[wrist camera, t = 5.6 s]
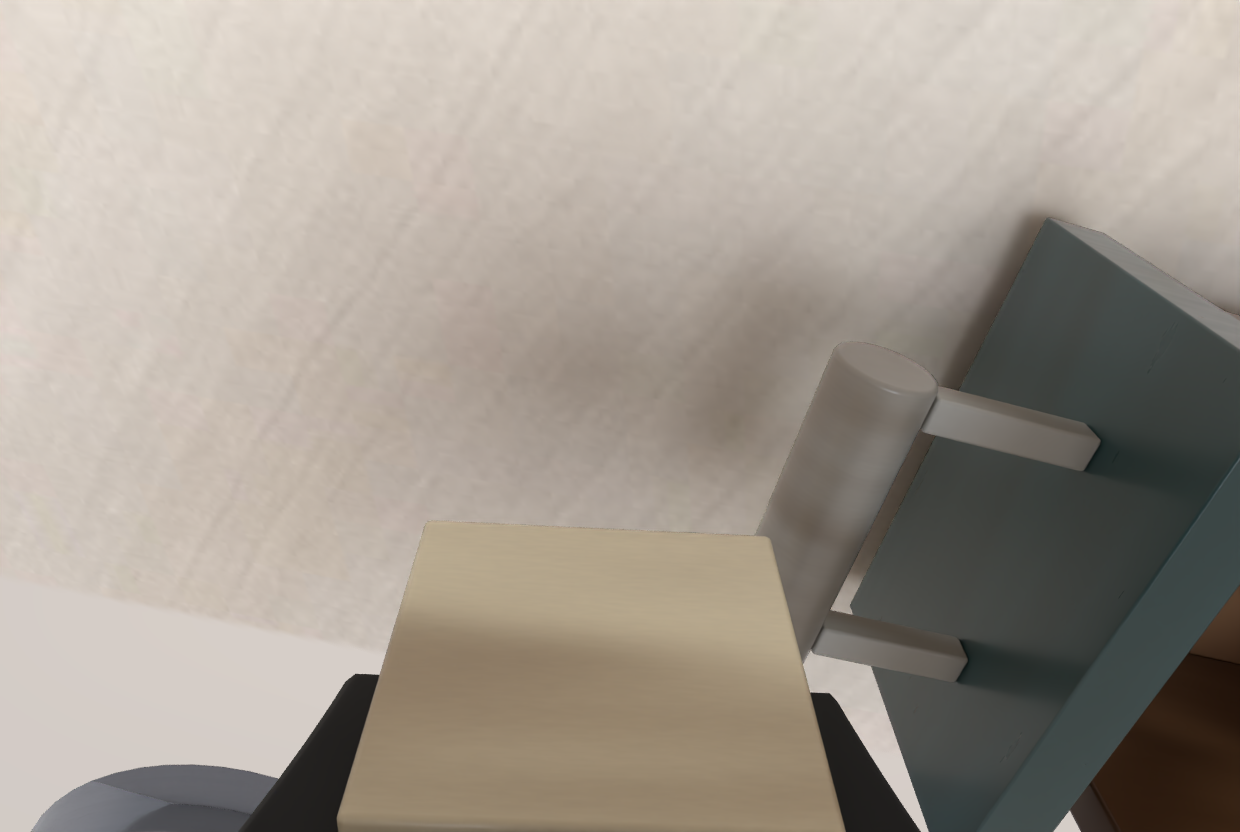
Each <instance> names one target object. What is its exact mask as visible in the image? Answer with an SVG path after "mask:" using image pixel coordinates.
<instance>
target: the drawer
mask: <svg viewBox="0 0 1240 832" xmlns="http://www.w3.org/2000/svg"><path fill="white" fill-rule="evenodd" d="M920 429H921V431H923V432H924V433H927V434H931V435H935V438H934V440H933V442H932V444H931V446H930V448H929V450H928V452H927V454H926V456H925V458H924V460H923V462H922V464H921V466H920V468H919V470H918V472H917V474H916V476H915V478H914V480H913V482H912V484H911V486H910V488H909V490H908V492H907V494H906V496H905V498H904V499H903V501H902V503H901V505H900V507H899V509H898V511H897V513H896V515H895V517H894V519H893V521H892V523H891V525H890V527H889V529H888V531H887V533H886V535H885V537H884V539H883V541H882V543H881V545H880V547H879V549H878V551H877V553H876V555H875V557H874V559H873V561H872V563H871V565H870V567H869V568H868V570H867V572H866V574H865V576H864V578H863V580H862V582H861V584H860V586H859V588H858V590H857V592H856V594H855V596H854V598H853V600H852V602H851V604H850V607H851V610H852V613H853V615H851V614H846V613H841V612H837V611H832V610H830V609H831V607H832V605H833V603H834V601H835V599H836V597H837V595H838V593H839V591H840V589H841V587H842V585H843V583H844V581H845V579H846V577H847V575H848V573H849V571H850V569H851V567H852V565H853V563H854V561H855V559H856V557H857V555H858V553H859V551H860V549H861V547H862V545H863V543H864V541H865V539H866V537H867V535H868V533H869V531H870V529H871V527H872V525H873V523H874V521H875V518H876V516H877V514H878V512H879V510H880V508H881V506H882V504H883V502H884V500H885V498H886V496H887V494H888V492H889V490H890V488H891V486H892V484H893V482H894V480H895V478H896V476H897V474H898V472H899V470H900V468H901V466H902V464H903V462H904V460H905V458H906V456H907V454H908V452H909V450H910V448H911V446H912V444H913V442H914V440H915V438H916V436H917V434H918V432H919V430H920ZM755 536H766V537H768V538H770V540H771V543H772V547H773V551H774V555H775V558H776V562H777V566H778V570H779V574H780V578H781V582H782V586H783V589H784V593H785V597H786V601H787V605H788V609H789V613H790V617H791V621H792V624H793V628H794V632H795V636H796V640H797V644H798V648H799V652H800V655H801V659H802V663H803V664H804V662H805V660H806V658H807V656H808V654H809V652H810V650H812V652H813V653H814V654H816V655H821V656H826V657H831V658H836V659H841V660H846V661H850V662H855V663H860V664H865V665H870V666H871V667H872V670H873V673H874V676H875V679H876V682H877V684H878V687H879V690H880V693H881V696H882V699H883V702H884V705H885V707H886V710H887V713H888V716H889V719H890V722H891V725H892V727H893V730H894V733H895V736H896V739H897V742H898V745H899V748H900V750H901V753H902V756H903V759H904V762H905V765H906V768H907V770H908V773H909V776H910V779H911V782H912V785H913V788H914V791H915V793H916V796H917V799H918V802H919V805H920V808H921V811H922V813H923V816H924V819H925V822H926V825H927V828H928V831H929V832H1053V831H1054V830H1055V829H1056V827H1057V826H1058V825H1059V823H1060V822H1061V821H1062V819H1063V818H1064V817H1065V815H1066V814H1067V813H1068V811H1069V810H1070V811H1071V813H1072V815H1073V817H1074V819H1075V821H1076V823H1077V825H1078V827H1079V829H1080V831H1081V832H1240V315H1237V314H1233V313H1230V312H1226V311H1224V310H1222V309H1220V308H1219V307H1217V306H1216V305H1214V304H1213V303H1211V302H1210V301H1208V300H1207V299H1205V298H1203V297H1202V296H1200V295H1199V294H1197V293H1196V292H1194V291H1193V290H1191V289H1190V288H1188V287H1186V286H1185V285H1183V284H1182V283H1180V282H1179V281H1177V280H1176V279H1174V278H1172V277H1171V276H1169V275H1168V274H1166V273H1165V272H1163V271H1162V270H1160V269H1159V268H1157V267H1155V266H1154V265H1152V264H1151V263H1149V262H1148V261H1146V260H1145V259H1143V258H1142V257H1140V256H1138V255H1137V254H1135V253H1134V252H1132V251H1131V250H1129V249H1128V248H1126V247H1124V246H1123V245H1121V244H1120V243H1118V242H1117V241H1115V240H1114V239H1112V238H1111V237H1109V236H1107V235H1106V234H1104V233H1102V232H1098V231H1095V230H1091V229H1088V228H1084V227H1081V226H1077V225H1074V224H1070V223H1067V222H1063V221H1060V220H1056V219H1053V218H1046V220H1045V221H1044V223H1043V225H1042V227H1041V229H1040V231H1039V233H1038V235H1037V237H1036V239H1035V241H1034V243H1033V245H1032V247H1031V249H1030V251H1029V253H1028V255H1027V257H1026V259H1025V261H1024V263H1023V265H1022V267H1021V269H1020V271H1019V273H1018V275H1017V277H1016V279H1015V281H1014V283H1013V285H1012V287H1011V289H1010V290H1009V292H1008V294H1007V296H1006V298H1005V300H1004V302H1003V304H1002V306H1001V308H1000V310H999V312H998V314H997V316H996V318H995V320H994V322H993V324H992V326H991V328H990V330H989V332H988V334H987V336H986V338H985V340H984V342H983V344H982V346H981V348H980V350H979V352H978V354H977V356H976V358H975V359H974V361H973V363H972V365H971V367H970V369H969V371H968V373H967V375H966V377H965V379H964V381H963V383H962V385H961V387H960V389H959V391H957V390H953V389H949V388H945V387H941V386H938V383H937V381H936V379H935V378H934V377H933V376H932V375H931V374H930V373H929V372H928V371H927V370H926V369H924V368H923V367H922V366H920V365H919V364H917V363H916V362H914V361H912V360H911V359H909V358H907V357H905V356H903V355H901V354H899V353H896V352H894V351H892V350H889V349H886V348H883V347H880V346H877V345H873V344H868V343H862V342H843V343H840V344H839V345H837V346H836V347H835V348H834V350H833V352H832V354H831V357H830V359H829V361H828V364H827V366H826V368H825V371H824V373H823V375H822V378H821V380H820V382H819V385H818V387H817V390H816V392H815V394H814V397H813V399H812V401H811V404H810V406H809V408H808V411H807V413H806V416H805V418H804V420H803V423H802V425H801V427H800V430H799V432H798V434H797V437H796V439H795V441H794V444H793V446H792V449H791V451H790V453H789V456H788V458H787V460H786V463H785V465H784V467H783V470H782V472H781V474H780V477H779V479H778V482H777V484H776V486H775V489H774V491H773V493H772V496H771V498H770V500H769V503H768V505H767V507H766V510H765V512H764V515H763V517H762V519H761V522H760V524H759V526H758V529H757V531H756V533H755Z"/></svg>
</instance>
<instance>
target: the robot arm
mask: <svg viewBox="0 0 1240 832" xmlns="http://www.w3.org/2000/svg"><path fill="white" fill-rule="evenodd" d="M378 679H379V675H371V674H355V675H353V676H352V677H351V678H350V679H348V680H347V681H346V682H345V684H344V685H343V687H342V688H341V690H340V691H339V693H338V694H337V696H336V698H335V699H334V701H333V702H332V704H331V705H330V707H329V708H328V710H327V711H326V713H325V714H324V716H323V718H322V719H321V720H320V722H319V723H318V725H317V726H316V728H315V729H314V731H313V732H312V734H311V735H310V736H309V738H308V739H307V741H306V742H305V744H304V745H303V746H302V748H301V749H300V750H299V752H298V753H297V755H296V756H295V757H294V759H293V760H292V761H291V763H290V764H289V766H288V767H287V768H286V770H285V771H284V773H283V774H282V775H281V777H280V778H279V779H278V781H277V782H276V783H275V785H274V786H273V787H272V789H271V790H270V791H269V792H268V794H267V795H266V796H265V798H264V799H263V800H262V802H261V803H260V804H259V805H258V807H257V808H256V809H255V811H254V812H253V813H252V814H251V816H250V817H249V818H248V820H247V821H246V822H245V824H244V825H243V826H242V827H241V829H240V830H239V831H238V832H338V826H337V815H338V811H339V808H340V805H341V801H342V798H343V795H344V791H345V788H346V785H347V782H348V778H349V775H350V772H351V768H352V765H353V762H354V758H355V755H356V752H357V748H358V745H359V742H360V738H361V735H362V732H363V728H364V725H365V722H366V718H367V715H368V712H369V708H370V705H371V702H372V698H373V695H374V692H375V688H376V685H377V682H378ZM810 694H811V698H812V702H813V706H814V710H815V714H816V718H817V721H818V725H819V729H820V733H821V737H822V741H823V745H824V749H825V753H826V756H827V760H828V764H829V768H830V772H831V776H832V780H833V784H834V787H835V791H836V795H837V799H838V803H839V807H840V811H841V815H842V819H843V822H844V826H845V830H846V832H921V831H920V830H919V829H918V827H917V826H916V824H915V823H914V821H913V820H912V818H911V817H910V815H909V814H908V813H907V811H906V809H905V808H904V807H903V805H902V804H901V802H900V801H899V799H898V797H897V796H896V794H895V793H894V791H893V790H892V788H891V787H890V785H889V784H888V782H887V781H886V779H885V778H884V776H883V775H882V773H881V772H880V770H879V768H878V767H877V765H876V764H875V762H874V761H873V759H872V758H871V756H870V755H869V753H868V751H867V750H866V748H865V746H864V745H863V743H862V741H861V740H860V738H859V737H858V735H857V733H856V732H855V730H854V729H853V727H852V725H851V724H850V722H849V720H848V719H847V717H846V715H845V714H844V712H843V710H842V709H841V707H840V705H839V704H838V702H837V701H836V700H835V699H834V698H833V697H832V695H831V694H830V693H810Z"/></svg>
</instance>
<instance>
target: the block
mask: <svg viewBox="0 0 1240 832" xmlns="http://www.w3.org/2000/svg"><path fill="white" fill-rule="evenodd" d="M337 826H338V832H846V830H845V826H844V822H843V819H842V815H841V811H840V807H839V803H838V799H837V795H836V791H835V787H834V784H833V780H832V776H831V772H830V768H829V764H828V760H827V756H826V753H825V749H824V745H823V741H822V737H821V733H820V729H819V725H818V721H817V718H816V714H815V710H814V706H813V702H812V698H811V694H810V690H809V687H808V683H807V679H806V675H805V671H804V667H803V663H802V659H801V655H800V652H799V648H798V644H797V640H796V636H795V632H794V628H793V624H792V621H791V617H790V613H789V609H788V605H787V601H786V597H785V593H784V589H783V586H782V582H781V578H780V574H779V570H778V566H777V562H776V558H775V555H774V551H773V547H772V543H771V540H770V538H768V537H766V536H750V535H729V534H708V533H687V532H666V531H645V530H624V529H603V528H582V527H560V526H539V525H518V524H497V523H476V522H455V521H434V520H431V521H428V522H427V523H426V524H425V526H424V529H423V532H422V536H421V539H420V542H419V546H418V549H417V552H416V556H415V559H414V562H413V566H412V569H411V572H410V576H409V579H408V582H407V585H406V589H405V592H404V595H403V599H402V602H401V605H400V609H399V612H398V615H397V619H396V622H395V625H394V629H393V632H392V635H391V639H390V642H389V645H388V649H387V652H386V655H385V659H384V662H383V665H382V669H381V672H380V675H379V679H378V682H377V685H376V688H375V692H374V695H373V698H372V702H371V705H370V708H369V712H368V715H367V718H366V722H365V725H364V728H363V732H362V735H361V738H360V742H359V745H358V748H357V752H356V755H355V758H354V762H353V765H352V768H351V772H350V775H349V778H348V782H347V785H346V788H345V791H344V795H343V798H342V801H341V805H340V808H339V811H338V815H337Z"/></svg>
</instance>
